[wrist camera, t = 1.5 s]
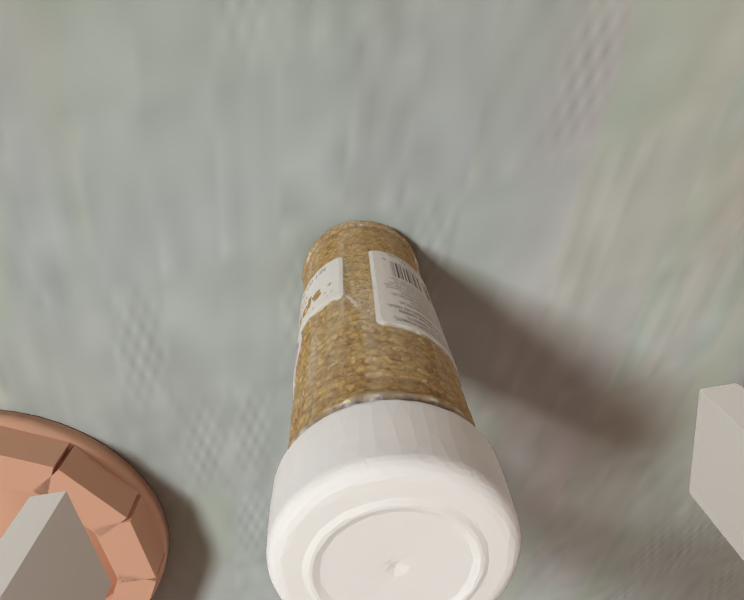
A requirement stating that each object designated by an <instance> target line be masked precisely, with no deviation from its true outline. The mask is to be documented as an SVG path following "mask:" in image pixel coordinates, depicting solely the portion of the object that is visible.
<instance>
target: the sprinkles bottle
mask: <svg viewBox="0 0 744 600" xmlns="http://www.w3.org/2000/svg"><path fill="white" fill-rule="evenodd" d="M302 280H303V284H304V294H303V298H302V302H301V308H300V320H299V334H298V343H297V352H296V361H295V371H294V379H293V397H294V401H293V410H292V415H291V427H290V439H289V445H288V451H287V452H286V453H285V455H284V457H283V459H282V460H281V462H280V465H279V467H278V470H277V473H276V476H275V479H274V486H273V493H272V500H271V506H270V515H269V525H268V536H267V553H266V556H267V565H268V570H269V574H270V578H271V580H272V582H273V585H274V587H275V589H276V590H277V592H278V594H279V595H280V597H281V599H282V600H495V599H496V598H497V597H498V596H499V595H500V594H501V592H502V591H503V589H504V588H505V587H506V585H507V584H508V582H509V581H510V579H511V577H512V575H513V573H514V571H515V569H516V565H517V562H518V558H519V553H520V546H521V532H520V526H519V521H518V517H517V514H516V511H515V508H514V505H513V502H512V499H511V496H510V493H509V489H508V486H507V483H506V481H505V478H504V475H503V473H502V470H501V468H500V465H499V462H498V460H497V457H496V455H495V453H494V451H493V449H492V447H491V445H490V444H489V443H488V441H487V440H486V438H485V437H484V436H483V435H482V434H481V433H480V432H479V431H478V430H477V429H476V427H475V424H474V422H473V419H472V416H471V413H470V411H469V409H468V406H467V403H466V400H465V397H464V394H463V392H462V389H461V380H460V377H459V373H458V370H457V367H456V364H455V362H454V359H453V357H452V354H451V352H450V349H449V346H448V344H447V341H446V338H445V336H444V333H443V330H442V328H441V325H440V323H439V320H438V317H437V315H436V312H435V309H434V307H433V304H432V301H431V298H430V296H429V293H428V291H427V288H426V286H425V284H424V282H423V280H422V278H421V277H420V270H419V264H418V261H417V259H416V255H415V253H414V251H413V250H412V248H411V246H410V244H409V243H408V241H407V240H406V239H405V238H404V237H403V236H401V235H400V234H399V233H398V232H396V231H395V230H393V229H392V228H390V227H388V226H385V225H383V224H380V223H375V222H373V221H349V222H345V223H343V224H340V225H338V226H336V227H334V228H332V229H330V230H329V231H327V232H326V234H324V235H322V236H321V237H320V238H319V239H318V240H317V241H316V242H315V243H314V245H313V246H312V247H311V249H310V251H309V253H308V255H307V257H306V259H305V264H304V268H303V275H302Z"/></svg>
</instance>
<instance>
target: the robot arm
mask: <svg viewBox="0 0 744 600" xmlns="http://www.w3.org/2000/svg"><path fill="white" fill-rule="evenodd" d="M689 493H690V494H691V495H692V497H693V498H694V499H695V500H696V502H697V503H698V504H699V505H700V507H701V508H702V509H703V510H704V512H705V513H706V514H707V515H708V517H709V518H710V519H711V520H712V522H713V523H714V524H715V526H716V527H717V528H718V529H719V531H720V532H721V533H722V534H723V536H724V537H725V538H726V539H727V541H728V542H729V543H730V544H731V546H732V547H733V548H734V549H735V551H736V552H737V553H738V554H739V556H740V557H741V558H742V559H743V561H744V388H743V387H741V386H740V385H739V384H738V383H735V384H729V385H722V386H716V387H710V388H704V389H700V392H699V401H698V411H697V421H696V430H695V440H694V449H693V459H692V469H691V478H690V488H689ZM111 585H112V583H111V581H110V579H109V577H108V575H107V573H106V571H105V569H104V567H103V565H102V563H101V561H100V559H99V557H98V555H97V553H96V551H95V548H94V546H93V544H92V542H91V540H90V538H89V536H88V534H87V532H86V530H85V528H84V526H83V524H82V522H81V520H80V518H79V516H78V514H77V512H76V510H75V508H74V506H73V504H72V502H71V500H70V498H69V496H68V494H67V492H66V491H62V492H56V493H50V494H43V495H37V496H31V497H29V498H28V500H27V501H26V503H25V504H24V506H23V507H22V509H21V510H20V511H19V513H18V514H17V516H16V517H15V519H14V520H13V522H12V523H11V524H10V526H9V527H8V529H7V530H6V532H5V533H4V535H3V536H2V537H1V539H0V600H105V599H106V596H107V594H108V592H109V589H110V587H111Z"/></svg>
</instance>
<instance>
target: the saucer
mask: <svg viewBox="0 0 744 600" xmlns="http://www.w3.org/2000/svg"><path fill="white" fill-rule="evenodd" d="M62 491H66V492H67V494H68V496H69V498H70V500H71V502H72V504H73V506H74V508H75V510H76V512H77V514H78V516H79V518H80V520H81V522H82V524H83V526H84V528H85V530H86V532H87V534H88V536H89V538H90V540H91V542H92V544H93V546H94V548H95V551H96V553H97V555H98V557H99V559H100V561H101V563H102V565H103V567H104V569H105V571H106V573H107V575H108V577H109V579H110V581H111V583H112V585H111V587H110V589H109V592H108V594H107V596H106V599H105V600H150V599H151V598H152V596H153V595H154V593H155V592H156V590H157V588H158V585H159V583H160V581H161V578H162V575H163V572H164V569H165V566H166V562H167V558H168V554H169V539H170V537H169V530H168V524H167V520H166V517H165V514H164V511H163V509H162V507H161V505H160V503H159V501H158V499H157V497H156V495H155V493H154V492H153V491H152V489H151V488H150V486H149V485H148V484H147V482H146V481H145V480H144V479H143V478H142V476H141V475H140V474H139V473H138V472H137V471H136V470H135V469H134V468H133V467H132V466H131V465H130V464H129V463H127V462H126V461H125V460H124V459H123V458H122V457H120V456H119V455H118V454H117V453H115V452H114V451H112V450H111V449H109V448H108V447H106V446H105V445H103V444H102V443H100V442H99V441H97V440H95V439H93V438H91V437H89V436H87V435H85V434H84V433H82V432H80V431H77V430H75V429H72V428H70V427H67V426H65V425H63V424H60V423H57V422H54V421H51V420H47V419H44V418H41V417H37V416H33V415H28V414H23V413H18V412H13V411H3V410H0V539H1V537H2V536H3V535H4V533H5V532H6V530H7V529H8V527H9V526H10V524H11V523H12V522H13V520H14V519H15V517H16V516H17V514H18V513H19V511H20V510H21V509H22V507H23V506H24V504H25V503H26V501H27V500H28V498H29V497H31V496H37V495H43V494H50V493H56V492H62Z"/></svg>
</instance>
